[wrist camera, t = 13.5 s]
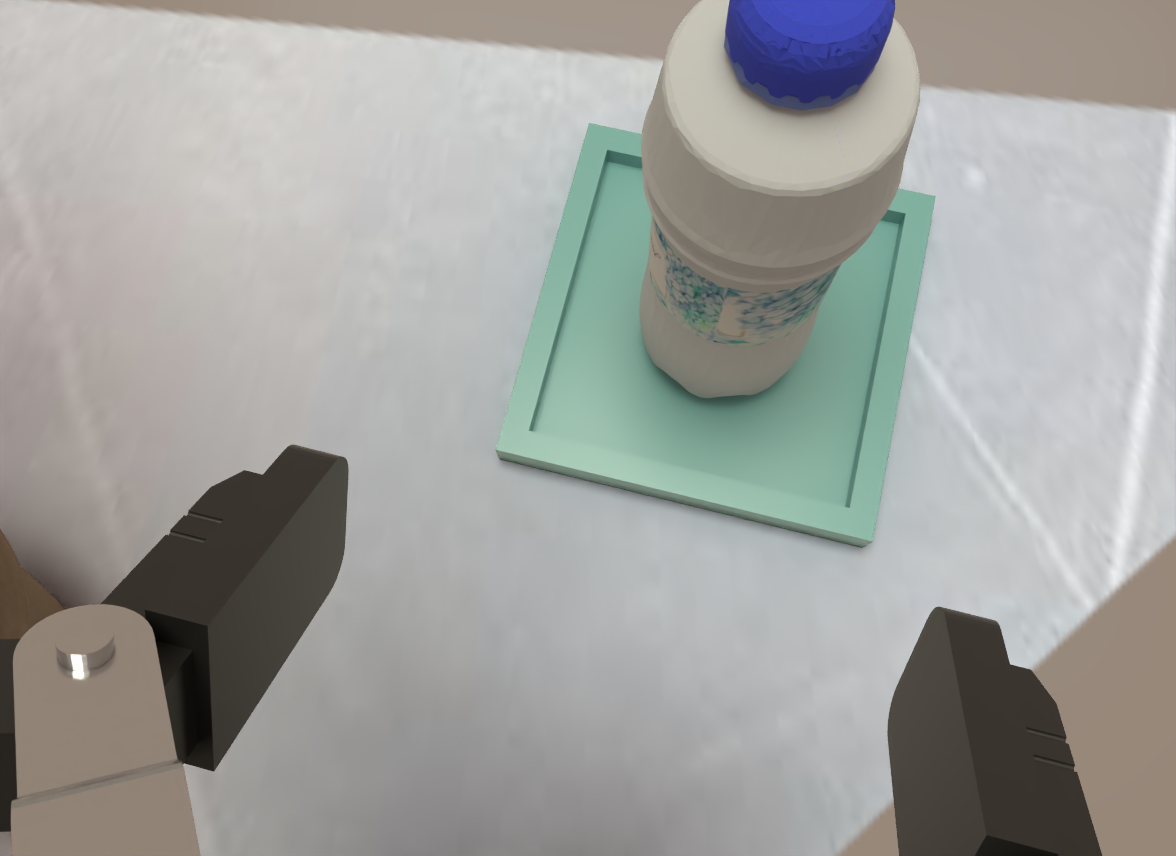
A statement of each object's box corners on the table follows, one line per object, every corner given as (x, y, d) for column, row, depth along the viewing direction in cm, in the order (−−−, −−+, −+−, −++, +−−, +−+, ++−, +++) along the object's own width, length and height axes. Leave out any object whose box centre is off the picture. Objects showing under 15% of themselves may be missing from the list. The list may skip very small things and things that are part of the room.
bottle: (662, 234, 40) (706, -200, 21) (825, 282, 39) (1029, -120, 20) (609, 386, 38) (603, 70, 19) (778, 439, 38) (949, 167, 18)
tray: (499, 459, 38) (495, 449, 37) (589, 143, 42) (589, 123, 40) (862, 547, 37) (872, 541, 36) (924, 214, 41) (935, 196, 39)
